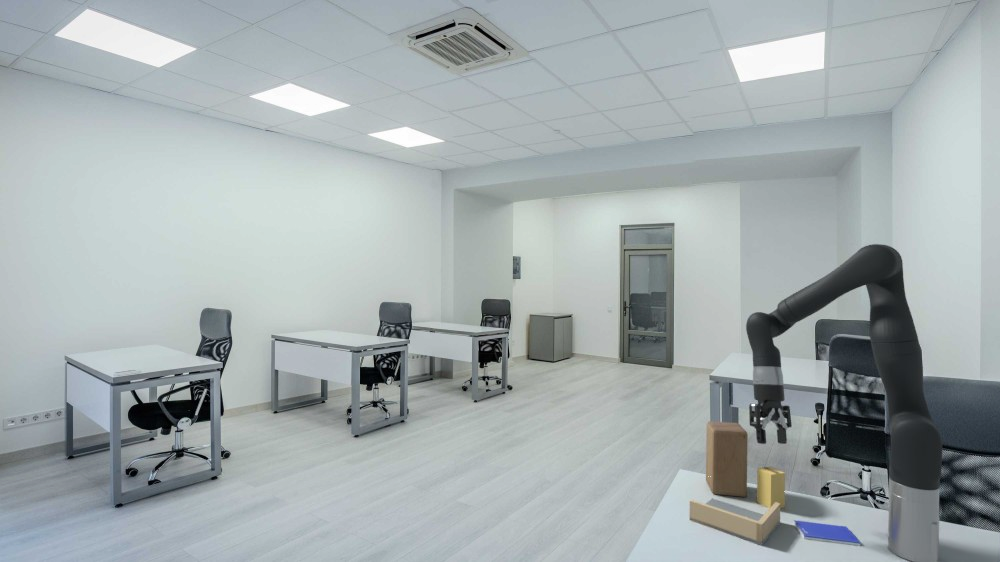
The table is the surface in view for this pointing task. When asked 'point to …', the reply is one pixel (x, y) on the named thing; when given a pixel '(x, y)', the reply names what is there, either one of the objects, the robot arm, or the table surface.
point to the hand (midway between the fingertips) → (772, 443)
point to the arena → (736, 519)
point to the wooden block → (726, 458)
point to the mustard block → (770, 486)
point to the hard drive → (826, 532)
